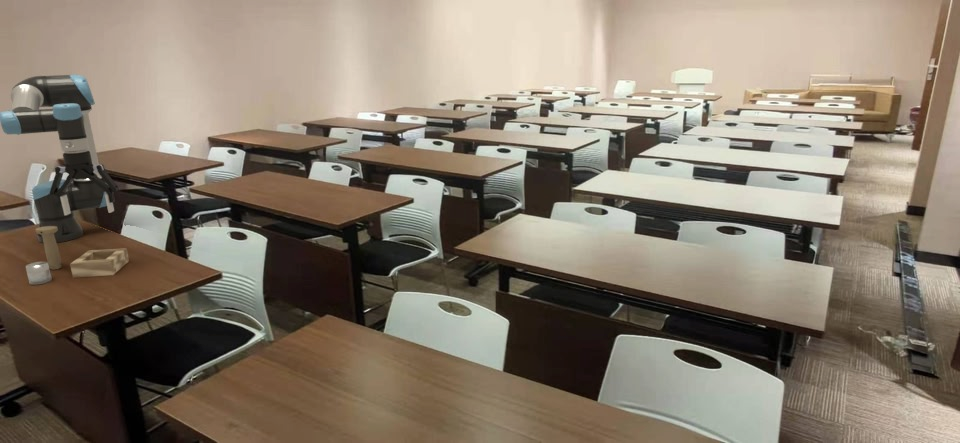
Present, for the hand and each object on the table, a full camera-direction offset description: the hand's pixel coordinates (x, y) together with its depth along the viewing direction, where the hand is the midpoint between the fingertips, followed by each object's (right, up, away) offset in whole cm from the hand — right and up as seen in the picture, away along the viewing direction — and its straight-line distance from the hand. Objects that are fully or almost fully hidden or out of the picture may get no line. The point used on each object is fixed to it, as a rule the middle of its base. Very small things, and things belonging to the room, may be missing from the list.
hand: (89, 213), depth 194 cm
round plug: (-14, -23, -4) cm, 27 cm away
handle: (-17, -20, +7) cm, 27 cm away
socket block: (0, -20, +6) cm, 21 cm away
